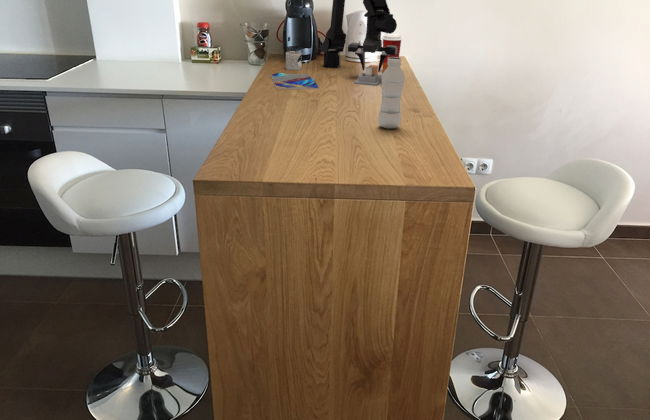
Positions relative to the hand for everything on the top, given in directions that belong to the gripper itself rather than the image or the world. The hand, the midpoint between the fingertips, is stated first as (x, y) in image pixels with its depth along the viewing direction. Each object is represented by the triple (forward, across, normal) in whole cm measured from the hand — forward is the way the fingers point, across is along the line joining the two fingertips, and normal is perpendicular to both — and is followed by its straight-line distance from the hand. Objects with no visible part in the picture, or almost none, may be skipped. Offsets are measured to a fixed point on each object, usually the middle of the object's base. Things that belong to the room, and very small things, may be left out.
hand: (371, 71), depth 227 cm
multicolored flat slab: (+4, -27, -16) cm, 32 cm away
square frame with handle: (+3, 0, -2) cm, 3 cm away
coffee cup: (+3, +5, +18) cm, 18 cm away
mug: (+4, -36, +10) cm, 37 cm away
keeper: (+3, 0, -2) cm, 4 cm away
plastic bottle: (+3, +18, -64) cm, 67 cm away
